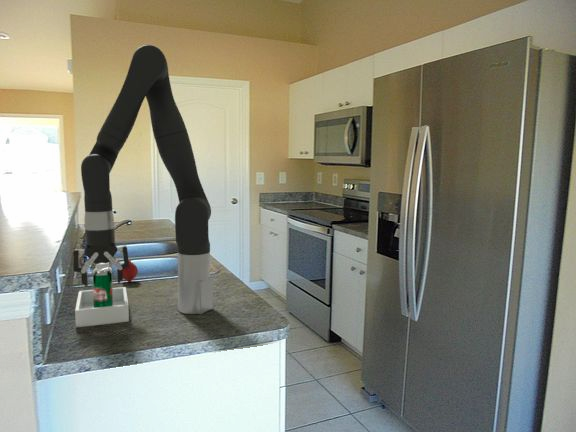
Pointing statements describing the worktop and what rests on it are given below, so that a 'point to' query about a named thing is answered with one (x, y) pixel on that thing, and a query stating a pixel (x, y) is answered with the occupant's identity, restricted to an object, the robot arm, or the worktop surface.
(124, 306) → the tote
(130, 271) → the onion
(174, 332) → the worktop surface
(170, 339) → the worktop surface
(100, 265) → the supplement bottle
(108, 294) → the soda can
